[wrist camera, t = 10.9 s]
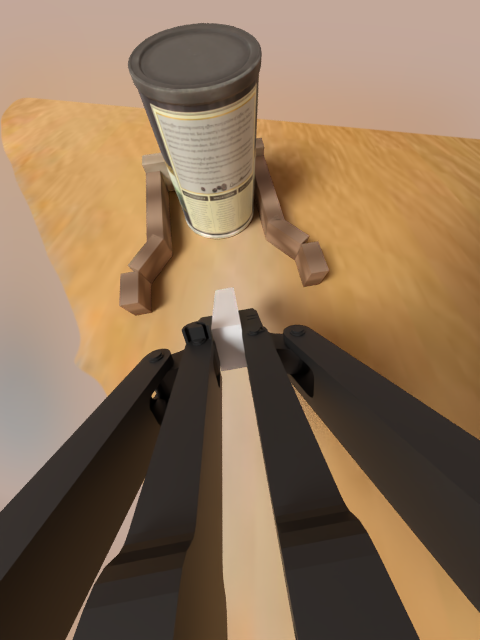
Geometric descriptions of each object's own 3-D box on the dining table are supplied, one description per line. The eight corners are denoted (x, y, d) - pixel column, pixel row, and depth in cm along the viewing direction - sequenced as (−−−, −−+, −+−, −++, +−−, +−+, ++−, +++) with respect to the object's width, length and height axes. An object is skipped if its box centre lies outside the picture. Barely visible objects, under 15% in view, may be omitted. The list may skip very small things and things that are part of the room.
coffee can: (170, 214, 28) (100, 57, 14) (219, 177, 30) (198, 11, 16) (218, 252, 25) (188, 106, 12) (268, 209, 27) (289, 45, 14)
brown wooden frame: (319, 284, 23) (333, 264, 19) (135, 315, 23) (112, 301, 19) (277, 164, 30) (281, 133, 27) (136, 185, 30) (120, 157, 26)
